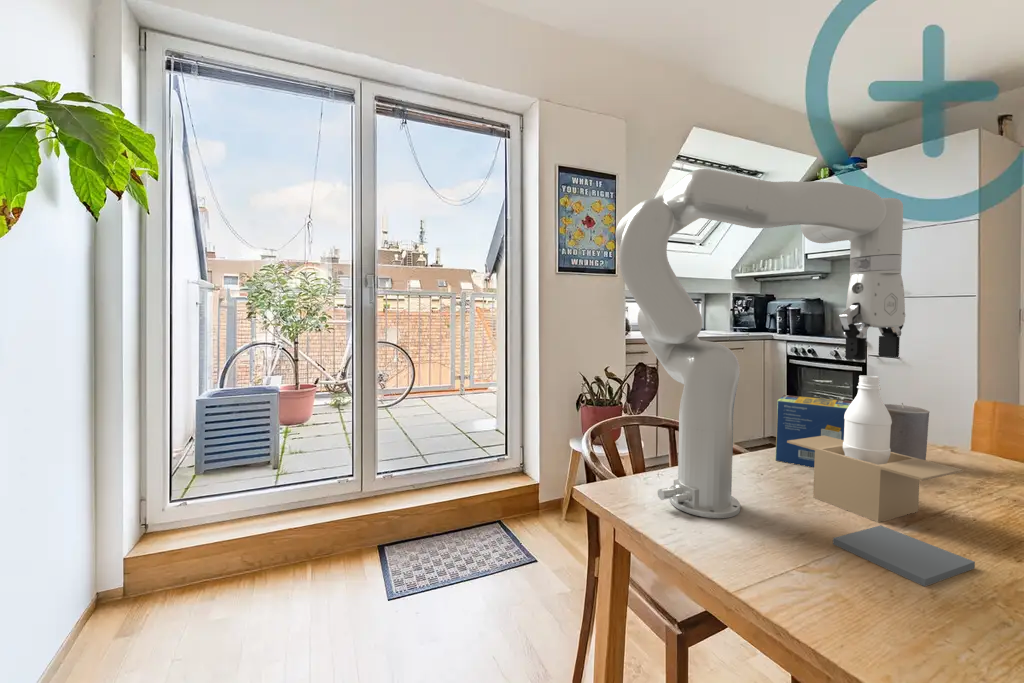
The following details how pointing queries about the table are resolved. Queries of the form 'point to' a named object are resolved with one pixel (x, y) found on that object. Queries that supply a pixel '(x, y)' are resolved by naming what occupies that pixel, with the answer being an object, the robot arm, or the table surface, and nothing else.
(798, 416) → the protein box
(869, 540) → the slate mat
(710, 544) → the table surface
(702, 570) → the table surface
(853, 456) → the water bottle
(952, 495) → the table surface
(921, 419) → the pillar candle
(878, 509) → the carton
